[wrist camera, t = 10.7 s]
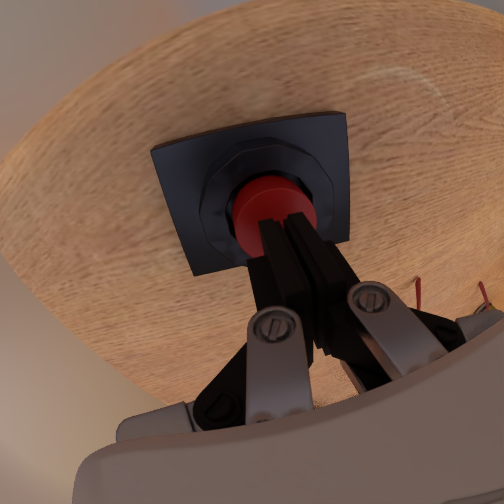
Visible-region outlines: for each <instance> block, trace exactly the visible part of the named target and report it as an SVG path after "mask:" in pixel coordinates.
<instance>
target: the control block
mask: <svg viewBox="0 0 504 504" xmlns="http://www.w3.org/2000/svg"><path fill="white" fill-rule="evenodd" d="M150 152H151V156H152V159H153V162H154V165H155V169H156V172H157V175H158V178H159V181H160V184H161V187H162V190H163V193H164V196H165V199H166V202H167V205H168V208H169V211H170V214H171V217H172V219H173V222H174V225H175V228H176V231H177V233H178V236H179V239H180V242H181V244H182V247H183V250H184V252H185V255H186V257H187V260H188V263H189V265H190V268H191V270H192V273H193V275H194V276H199V275H204V274H208V273H212V272H217V271H221V270H226V269H230V268H235V267H239V266H245V267H247V262H246V259H250V258H253V257H252V256H250V255H249V254H247V253H246V252H245V251H244V250H243V249H242V248H241V246H240V245H239V243H238V241H237V238H236V234H235V228H234V223H233V217H232V206H233V202H234V200H235V197H236V195H237V194H238V192H239V191H240V190H241V188H242V187H244V186H245V185H246V184H247V183H248V182H250V181H252V180H253V179H256V178H258V177H261V176H267V175H277V176H282V177H285V178H288V179H289V180H291V181H293V182H294V183H295V184H296V185H297V186H298V187H299V188H300V189H301V190H302V192H303V193H304V194H305V195H306V196H307V198H308V199H309V200H310V201H311V203H312V204H313V206H314V209H315V212H316V217H317V224H316V232H317V233H318V235H319V236H320V238H321V239H322V240H323V241H327V240H332V241H333V243H334V244H338V243H342V242H346V241H349V234H350V177H349V152H348V136H347V123H346V113H343V112H339V111H328V112H317V113H307V114H299V115H291V116H284V117H277V118H270V119H264V120H258V121H253V122H247V123H242V124H237V125H232V126H228V127H223V128H219V129H214V130H210V131H206V132H202V133H198V134H194V135H190V136H186V137H183V138H179V139H176V140H172V141H169V142H166V143H162V144H159V145H156V146H154V147H153V148H152V149H151V150H150Z"/></svg>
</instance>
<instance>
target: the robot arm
mask: <svg viewBox="0 0 504 504" xmlns="http://www.w3.org/2000/svg"><path fill="white" fill-rule="evenodd" d="M258 225H259V231H260V236H261V241H262V247H263V252H264V255H263V256H259V257H255V258H250V259H246V262H247V267H248V271H249V276H250V280H251V285H252V289H253V294H254V298H255V303H256V307H257V313H255V314H254V315H253V316H252V318H251V319H250V321H249V323H248V327H247V342H246V343H245V344H244V345H243V347H242V348H241V349H240V350H239V351H238V352H237V353H236V355H235V356H234V357H233V358H232V359H231V360H230V361H229V362H228V364H227V365H226V366H225V367H224V368H223V369H222V370H221V371H220V372H219V374H218V375H217V376H216V377H215V378H214V379H213V380H212V381H211V382H210V383H209V384H208V386H207V387H206V388H205V389H204V390H203V391H202V392H201V393H200V394H199V395H198V397H197V398H196V400H195V401H192V402H189V403H185V402H184V401H183V402H180V403H177V404H174V405H170V406H167V407H164V408H160V409H157V410H154V411H150V412H147V413H143V414H139V415H136V416H132V417H129V418H127V419H124V420H123V421H122V422H121V423H120V424H119V426H118V428H117V431H116V442H117V443H114V444H111V445H108V446H106V447H104V448H101V449H99V450H97V451H95V452H94V453H92V454H90V455H89V456H88V457H87V458H85V459H84V461H83V462H82V463H81V465H80V467H79V468H78V471H77V474H76V478H75V482H74V488H73V497H72V504H504V313H503V312H502V311H500V310H497V309H491V310H488V311H484V312H480V313H477V314H473V315H469V316H465V317H460V318H456V320H455V322H454V321H452V320H449V319H447V318H444V317H440V316H437V315H433V314H430V313H427V312H423V311H420V310H417V309H413V308H410V307H407V306H406V304H405V303H404V302H403V301H402V300H401V299H400V298H399V297H398V296H397V295H396V294H395V293H394V292H393V291H392V290H391V289H390V288H389V287H387V286H386V285H385V284H382V283H380V282H376V281H363V282H360V280H359V279H358V277H357V276H356V274H355V273H354V271H353V270H352V268H351V267H350V265H349V264H348V262H347V261H346V260H345V258H344V257H343V255H342V254H341V252H340V251H339V250H338V248H337V247H336V245H335V244H334V243H333V241H332V240H327V241H323V240H322V239H321V238H320V236H319V235H318V233H317V232H316V230H315V229H314V227H313V226H312V224H311V223H310V221H309V220H308V219H307V217H306V216H305V214H304V213H303V212H297V213H292V214H288V215H287V219H283V226H284V229H283V227H282V225H281V223H280V221H279V220H278V221H274V219H273V218H269V219H265V220H260V221H258ZM313 340H314V342H315V345H316V347H317V349H320V348H322V349H323V351H324V354H325V356H327V355H330V354H331V355H332V357H335V358H337V359H340V363H341V365H342V367H343V369H344V370H345V372H346V374H347V375H348V377H349V378H350V380H351V382H352V383H353V385H354V387H355V388H356V390H357V391H358V393H359V395H357V396H354V397H351V398H348V399H346V400H343V401H340V402H337V403H334V404H330V405H327V406H324V407H321V408H317V409H314V407H313V399H312V391H311V384H310V376H309V368H310V366H311V365H312V363H313Z"/></svg>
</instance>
